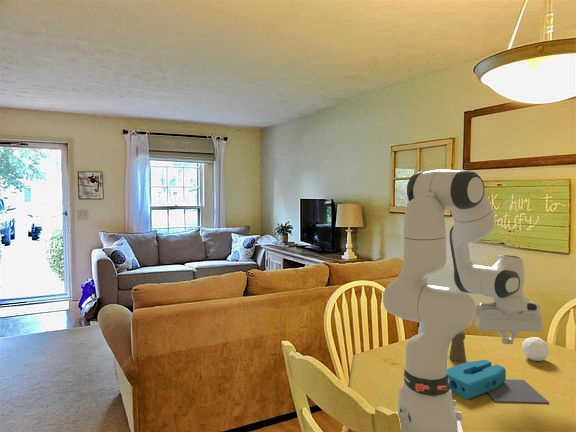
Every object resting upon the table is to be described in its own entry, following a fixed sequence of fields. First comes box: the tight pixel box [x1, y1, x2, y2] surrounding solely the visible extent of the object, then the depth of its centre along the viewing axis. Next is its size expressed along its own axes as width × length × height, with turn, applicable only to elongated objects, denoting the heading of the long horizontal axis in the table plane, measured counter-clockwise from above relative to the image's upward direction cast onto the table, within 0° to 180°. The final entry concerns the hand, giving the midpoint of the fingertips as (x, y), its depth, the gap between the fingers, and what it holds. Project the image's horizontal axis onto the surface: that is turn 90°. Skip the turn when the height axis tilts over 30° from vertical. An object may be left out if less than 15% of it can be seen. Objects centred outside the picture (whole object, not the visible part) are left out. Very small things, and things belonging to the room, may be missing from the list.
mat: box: [486, 378, 550, 404], centre depth 131 cm, size 15×16×1 cm
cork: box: [448, 330, 467, 363], centre depth 157 cm, size 6×6×11 cm
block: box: [447, 359, 507, 400], centre depth 135 cm, size 12×5×20 cm
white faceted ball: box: [521, 336, 550, 362], centre depth 157 cm, size 9×9×12 cm
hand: (507, 343), depth 135 cm, fingers closed
